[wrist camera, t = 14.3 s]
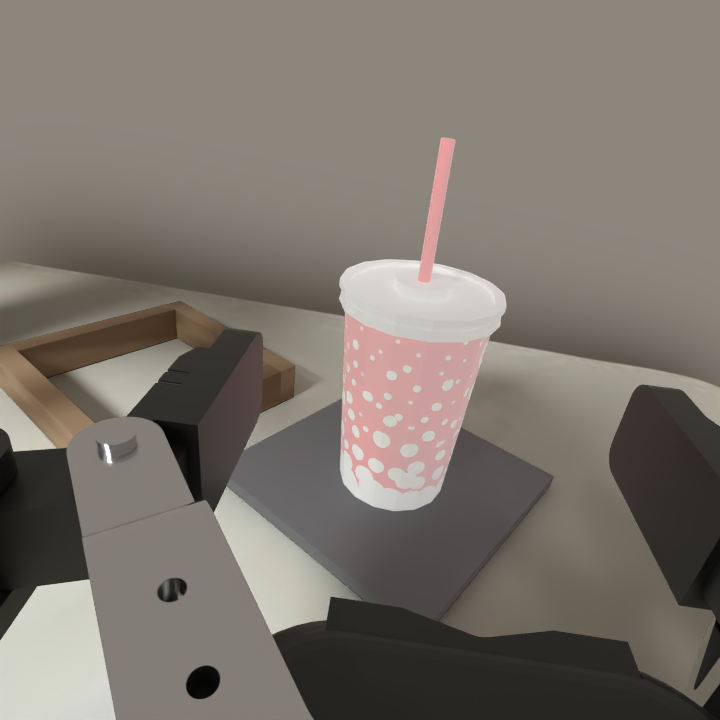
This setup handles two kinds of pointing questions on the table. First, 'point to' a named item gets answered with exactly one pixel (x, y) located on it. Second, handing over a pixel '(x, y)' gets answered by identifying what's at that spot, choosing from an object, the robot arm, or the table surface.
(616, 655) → the robot arm
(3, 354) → the walnut holder
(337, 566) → the rubber mat
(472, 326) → the beverage cup
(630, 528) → the table surface
